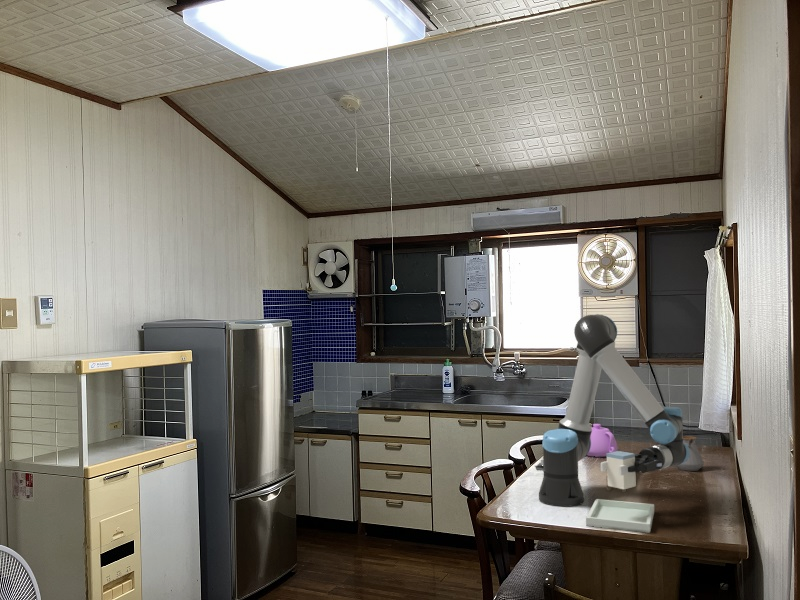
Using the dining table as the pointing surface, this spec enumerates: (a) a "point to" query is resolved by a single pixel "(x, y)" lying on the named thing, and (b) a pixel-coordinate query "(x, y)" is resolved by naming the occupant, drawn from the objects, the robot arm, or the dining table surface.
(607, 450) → the teapot
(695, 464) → the coffee pot
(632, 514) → the tray
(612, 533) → the dining table surface
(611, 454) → the white boxy piece
